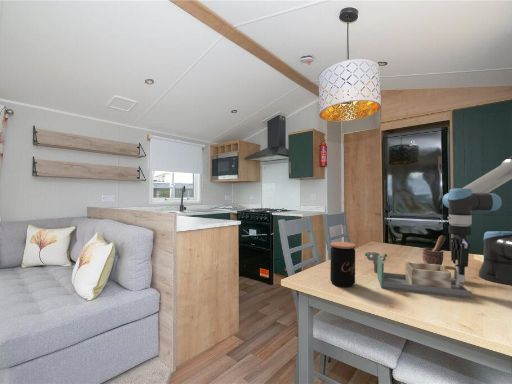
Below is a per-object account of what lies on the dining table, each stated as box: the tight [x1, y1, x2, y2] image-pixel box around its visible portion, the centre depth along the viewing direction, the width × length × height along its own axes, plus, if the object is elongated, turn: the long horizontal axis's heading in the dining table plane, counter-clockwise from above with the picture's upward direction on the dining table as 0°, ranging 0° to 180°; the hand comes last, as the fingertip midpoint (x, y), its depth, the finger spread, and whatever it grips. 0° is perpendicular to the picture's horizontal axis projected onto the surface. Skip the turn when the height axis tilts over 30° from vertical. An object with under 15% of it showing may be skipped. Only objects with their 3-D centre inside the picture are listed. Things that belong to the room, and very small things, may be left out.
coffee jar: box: [329, 241, 356, 288], centre depth 117 cm, size 11×11×18 cm
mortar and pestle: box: [421, 234, 447, 266], centre depth 129 cm, size 12×9×20 cm
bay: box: [377, 254, 473, 300], centre depth 113 cm, size 32×15×11 cm, turn 71°
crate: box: [405, 260, 458, 289], centre depth 111 cm, size 20×12×12 cm, turn 71°
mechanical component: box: [364, 251, 388, 274], centre depth 133 cm, size 3×10×10 cm, turn 79°
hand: (459, 280), depth 108 cm, fingers closed on crate, 2 cm apart
